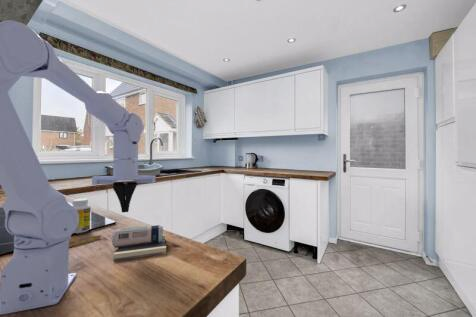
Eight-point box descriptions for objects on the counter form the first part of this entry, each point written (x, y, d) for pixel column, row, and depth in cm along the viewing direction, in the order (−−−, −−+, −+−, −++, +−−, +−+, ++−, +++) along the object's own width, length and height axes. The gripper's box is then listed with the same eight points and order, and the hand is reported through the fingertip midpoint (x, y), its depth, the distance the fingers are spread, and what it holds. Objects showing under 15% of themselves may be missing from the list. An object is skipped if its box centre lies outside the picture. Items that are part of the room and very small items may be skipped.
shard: (102, 240, 63) (102, 234, 63) (87, 251, 56) (87, 244, 56) (61, 241, 62) (61, 235, 62) (41, 253, 54) (41, 246, 54)
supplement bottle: (85, 233, 67) (85, 201, 67) (65, 234, 66) (65, 201, 66) (93, 228, 73) (93, 197, 73) (74, 229, 71) (74, 198, 72)
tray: (166, 253, 54) (166, 247, 54) (113, 260, 50) (113, 254, 50) (164, 239, 63) (164, 234, 63) (119, 244, 59) (119, 239, 59)
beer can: (112, 252, 54) (162, 246, 58) (111, 236, 53) (162, 231, 57) (115, 240, 58) (162, 235, 63) (115, 225, 57) (162, 221, 61)
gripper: (155, 159, 62) (155, 206, 62) (97, 158, 57) (96, 210, 57) (155, 159, 56) (155, 211, 56) (89, 159, 50) (89, 216, 50)
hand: (125, 211), depth 56 cm, fingers closed
